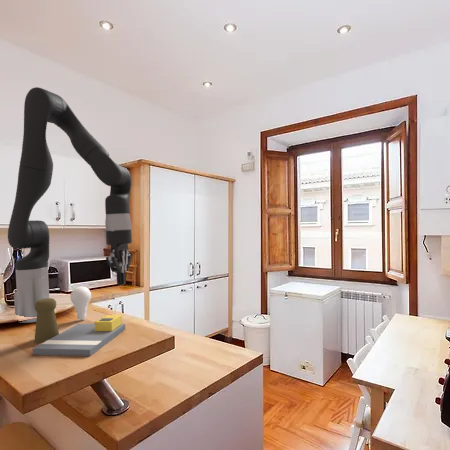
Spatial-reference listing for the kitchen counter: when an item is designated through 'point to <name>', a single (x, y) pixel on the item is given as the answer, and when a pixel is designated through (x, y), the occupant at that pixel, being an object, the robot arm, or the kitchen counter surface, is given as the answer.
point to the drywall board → (77, 341)
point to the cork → (45, 320)
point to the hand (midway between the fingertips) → (121, 284)
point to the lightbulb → (80, 301)
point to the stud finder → (108, 323)
